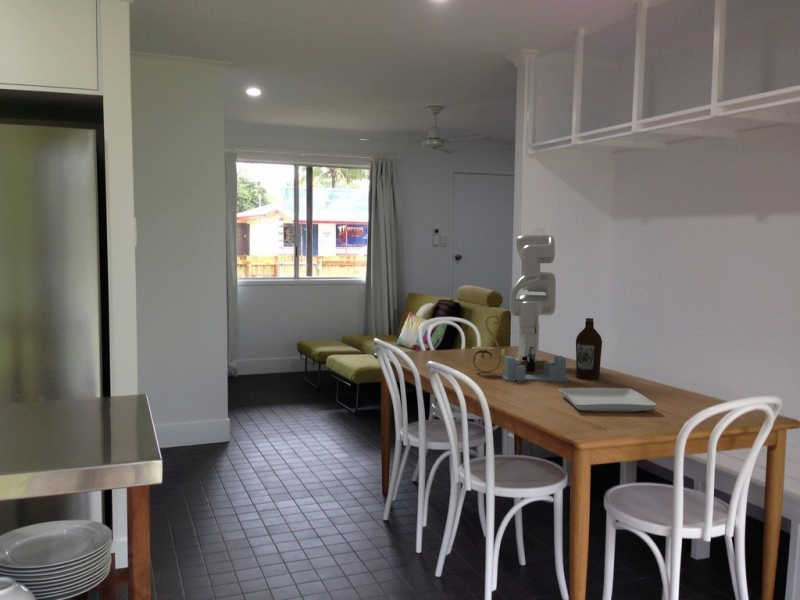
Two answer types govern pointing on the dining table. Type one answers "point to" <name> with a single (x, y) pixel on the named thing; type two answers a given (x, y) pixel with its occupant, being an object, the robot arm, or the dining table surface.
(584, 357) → the olive oil
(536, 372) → the rail
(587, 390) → the square plate
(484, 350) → the wall sconce
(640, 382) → the dining table surface
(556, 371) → the grey bracket base
